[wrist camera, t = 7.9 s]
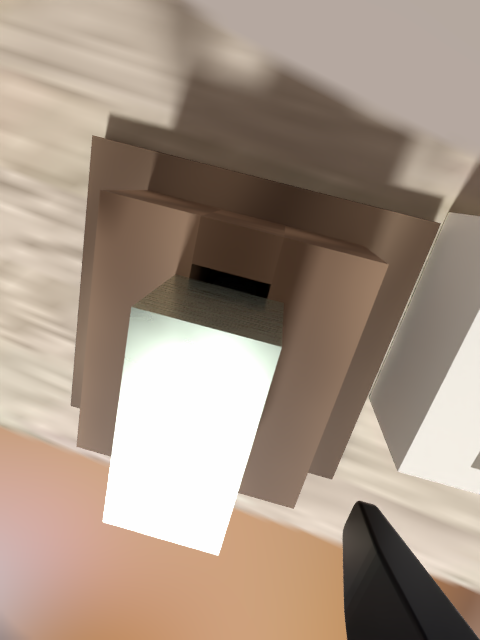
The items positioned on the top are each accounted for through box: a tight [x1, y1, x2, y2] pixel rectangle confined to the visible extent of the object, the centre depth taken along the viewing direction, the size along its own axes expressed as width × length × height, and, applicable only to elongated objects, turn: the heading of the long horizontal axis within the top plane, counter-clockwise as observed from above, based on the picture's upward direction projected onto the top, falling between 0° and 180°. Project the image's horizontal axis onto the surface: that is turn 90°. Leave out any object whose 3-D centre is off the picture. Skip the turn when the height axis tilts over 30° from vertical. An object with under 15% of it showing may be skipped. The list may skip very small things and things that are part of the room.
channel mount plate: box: [71, 135, 441, 509], centre depth 15 cm, size 14×13×5 cm
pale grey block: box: [103, 274, 284, 555], centre depth 13 cm, size 4×7×7 cm, turn 166°
